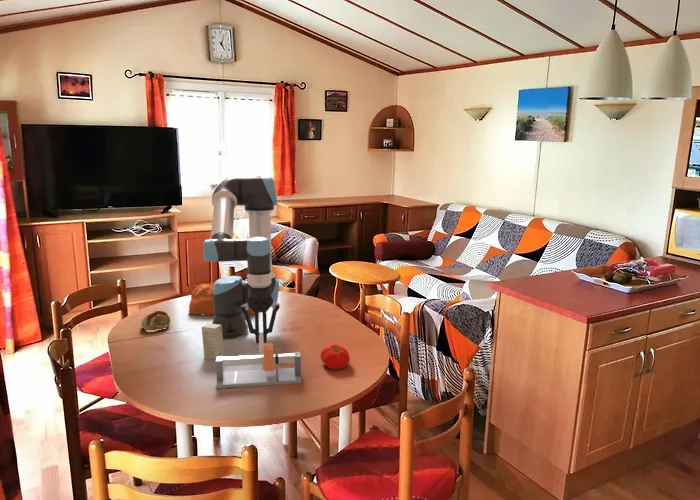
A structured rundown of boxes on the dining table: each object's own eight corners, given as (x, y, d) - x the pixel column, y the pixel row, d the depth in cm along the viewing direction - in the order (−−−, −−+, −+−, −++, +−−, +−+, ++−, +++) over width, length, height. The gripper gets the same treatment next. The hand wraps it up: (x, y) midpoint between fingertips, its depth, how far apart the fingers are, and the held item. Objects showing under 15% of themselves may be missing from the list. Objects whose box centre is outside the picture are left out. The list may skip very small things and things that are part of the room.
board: (216, 388, 177) (216, 385, 177) (218, 374, 187) (218, 371, 187) (301, 382, 182) (301, 379, 181) (299, 369, 191) (299, 367, 191)
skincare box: (224, 355, 203) (222, 324, 200) (217, 359, 199) (216, 328, 196) (209, 353, 205) (207, 322, 202) (202, 357, 201) (201, 326, 198)
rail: (216, 381, 180) (215, 360, 178) (217, 376, 184) (216, 355, 182) (301, 376, 184) (300, 355, 183) (300, 371, 188) (299, 351, 186)
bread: (196, 305, 260) (195, 278, 257) (261, 305, 260) (260, 279, 257) (186, 316, 245) (184, 288, 242) (255, 317, 245) (254, 289, 242)
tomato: (328, 373, 189) (328, 356, 187) (317, 361, 198) (317, 344, 197) (353, 369, 192) (354, 352, 191) (342, 357, 202) (342, 340, 201)
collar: (264, 371, 181) (263, 350, 179) (264, 363, 187) (263, 343, 185) (273, 370, 181) (272, 350, 180) (273, 363, 187) (272, 343, 185)
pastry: (155, 335, 222) (153, 316, 221) (133, 329, 228) (132, 311, 226) (180, 324, 235) (179, 306, 233) (159, 319, 240) (157, 302, 238)
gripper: (238, 288, 172) (241, 357, 178) (280, 287, 174) (281, 355, 180) (240, 282, 180) (242, 348, 185) (279, 281, 182) (280, 346, 187)
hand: (261, 352), depth 182 cm, fingers closed
